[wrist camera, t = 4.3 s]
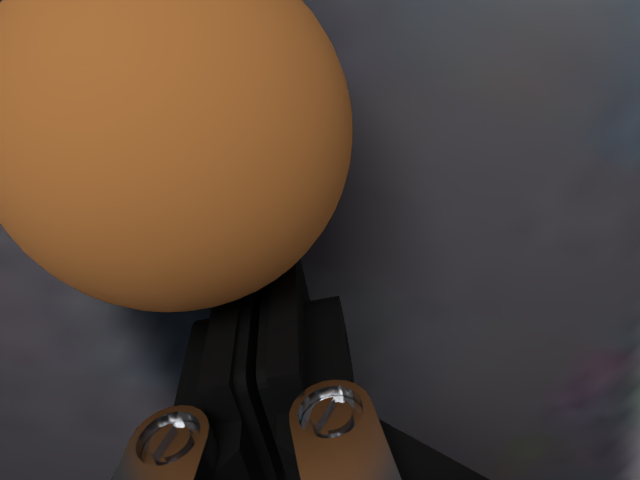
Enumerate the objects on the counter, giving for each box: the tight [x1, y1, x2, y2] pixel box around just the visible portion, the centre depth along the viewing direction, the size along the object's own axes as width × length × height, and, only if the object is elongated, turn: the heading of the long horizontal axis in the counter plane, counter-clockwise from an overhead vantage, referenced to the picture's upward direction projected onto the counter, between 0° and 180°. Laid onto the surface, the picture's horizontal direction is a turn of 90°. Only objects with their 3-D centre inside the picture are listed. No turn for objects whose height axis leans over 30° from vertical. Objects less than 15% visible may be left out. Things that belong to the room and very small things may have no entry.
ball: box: [0, 0, 353, 312], centre depth 9 cm, size 6×6×6 cm
